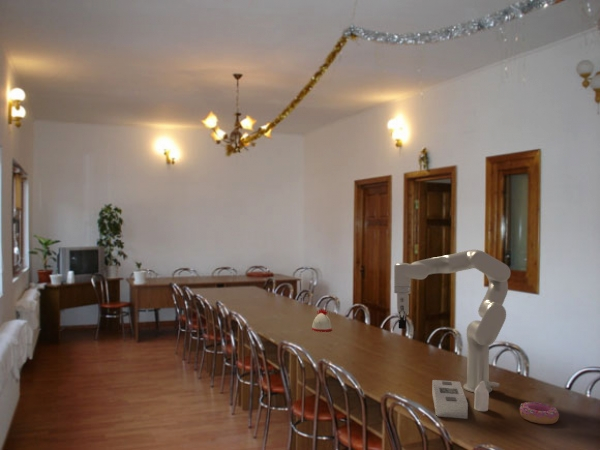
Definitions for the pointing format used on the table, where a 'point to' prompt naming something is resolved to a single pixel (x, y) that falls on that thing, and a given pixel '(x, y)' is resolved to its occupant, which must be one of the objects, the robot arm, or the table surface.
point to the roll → (481, 397)
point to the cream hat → (321, 322)
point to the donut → (539, 413)
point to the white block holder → (449, 399)
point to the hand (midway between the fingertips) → (402, 326)
